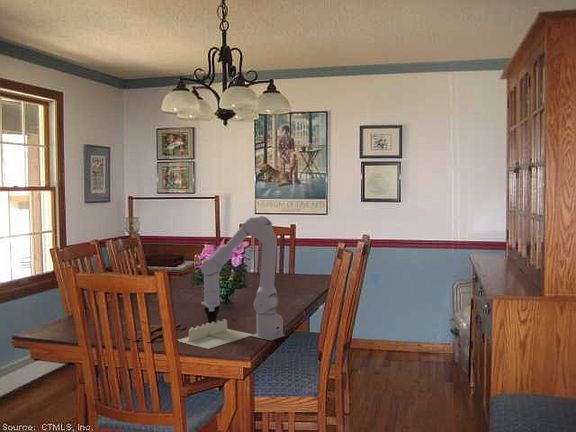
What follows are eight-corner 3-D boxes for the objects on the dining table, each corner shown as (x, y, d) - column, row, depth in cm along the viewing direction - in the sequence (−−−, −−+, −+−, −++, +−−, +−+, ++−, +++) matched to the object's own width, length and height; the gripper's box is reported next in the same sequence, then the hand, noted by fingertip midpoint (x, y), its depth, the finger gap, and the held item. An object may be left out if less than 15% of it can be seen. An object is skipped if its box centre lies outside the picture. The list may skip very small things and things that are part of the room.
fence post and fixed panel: (211, 335, 213) (211, 323, 213) (191, 341, 205) (190, 328, 205) (208, 335, 214) (208, 322, 214) (188, 341, 206) (187, 328, 206)
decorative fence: (188, 329, 227) (153, 326, 231) (188, 324, 227) (153, 322, 231) (159, 345, 205) (121, 342, 209) (159, 340, 205) (121, 337, 209)
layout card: (253, 335, 214) (253, 334, 214) (208, 349, 197) (208, 348, 197) (221, 328, 225) (221, 327, 225) (175, 341, 207) (175, 340, 207)
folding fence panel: (211, 335, 214) (211, 322, 213) (210, 334, 214) (209, 322, 214) (227, 330, 220) (226, 318, 220) (225, 330, 220) (225, 318, 220)
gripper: (201, 287, 226) (202, 321, 227) (200, 294, 212) (200, 331, 213) (220, 287, 227) (220, 321, 228) (219, 294, 213) (220, 330, 213)
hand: (212, 326), depth 220 cm, fingers closed
